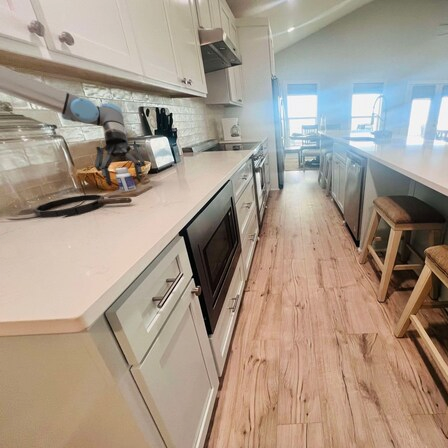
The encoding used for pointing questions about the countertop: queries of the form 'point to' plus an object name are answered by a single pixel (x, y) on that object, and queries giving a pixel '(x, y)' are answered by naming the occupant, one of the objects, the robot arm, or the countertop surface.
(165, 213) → the countertop surface
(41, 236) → the countertop surface
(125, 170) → the pill bottle
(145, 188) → the trivet
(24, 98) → the robot arm
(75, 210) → the pan
